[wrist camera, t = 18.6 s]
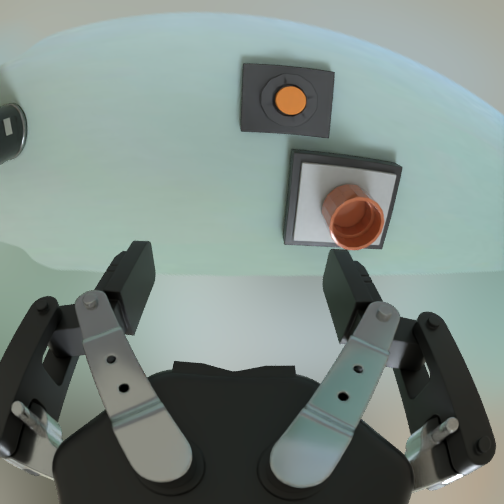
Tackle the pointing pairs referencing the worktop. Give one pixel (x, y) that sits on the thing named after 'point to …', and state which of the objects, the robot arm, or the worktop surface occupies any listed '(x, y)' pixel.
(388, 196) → the scale
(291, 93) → the tare button
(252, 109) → the block
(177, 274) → the worktop surface
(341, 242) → the copper cup
